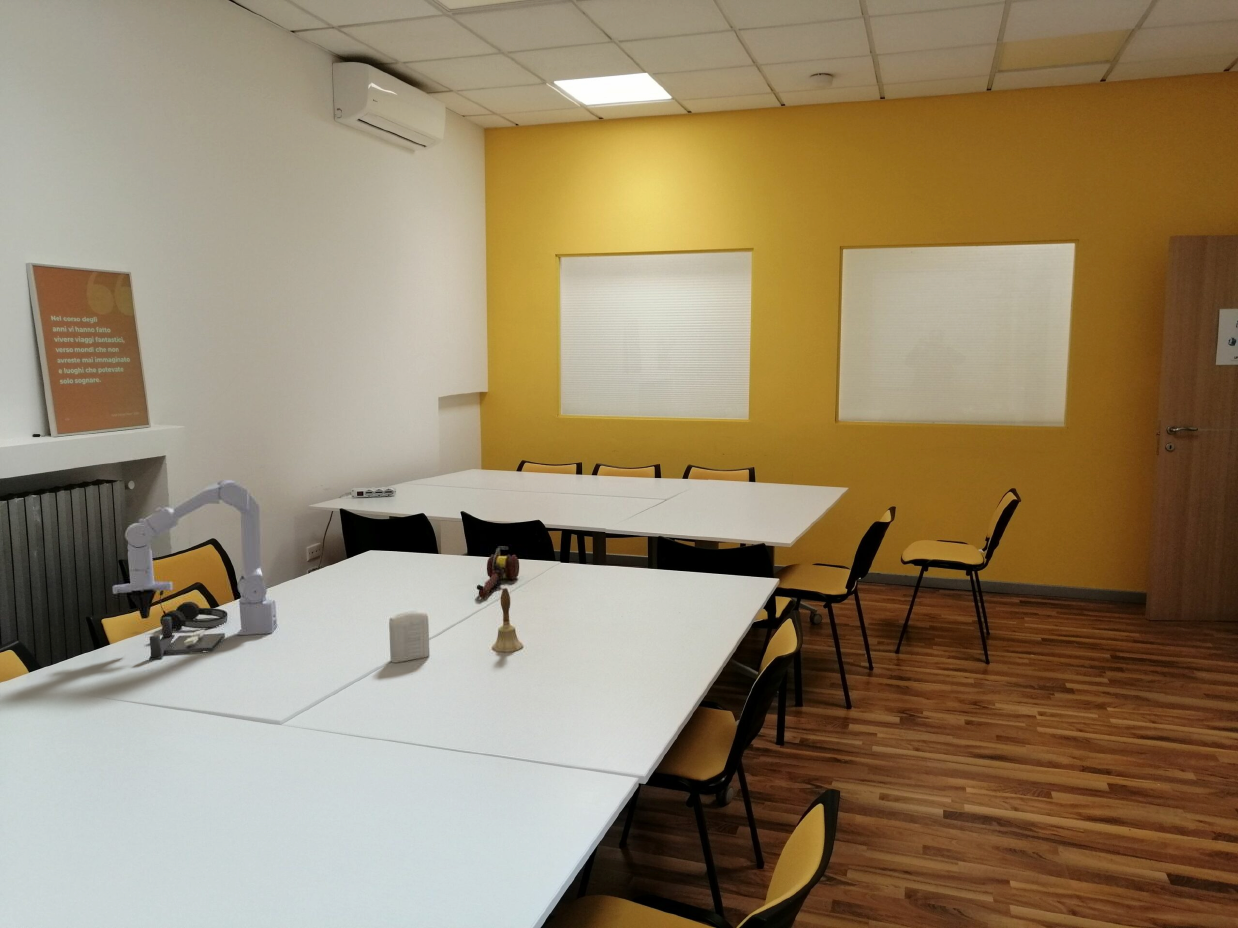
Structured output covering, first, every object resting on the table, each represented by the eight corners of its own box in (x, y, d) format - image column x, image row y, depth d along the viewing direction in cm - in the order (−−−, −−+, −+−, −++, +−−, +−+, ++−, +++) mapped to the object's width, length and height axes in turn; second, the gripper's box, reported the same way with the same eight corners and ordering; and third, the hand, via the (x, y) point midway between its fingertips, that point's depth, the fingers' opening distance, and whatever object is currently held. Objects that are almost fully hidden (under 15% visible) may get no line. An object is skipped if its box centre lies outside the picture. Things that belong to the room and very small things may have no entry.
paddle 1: (198, 639, 250) (197, 635, 250) (194, 643, 247) (193, 639, 246) (189, 641, 250) (188, 638, 250) (185, 645, 246) (184, 642, 246)
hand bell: (485, 649, 243) (483, 590, 241) (503, 640, 251) (501, 583, 249) (511, 654, 239) (509, 594, 238) (529, 644, 247) (527, 586, 245)
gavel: (498, 608, 293) (467, 607, 294) (522, 573, 326) (494, 573, 328) (496, 577, 291) (465, 577, 292) (520, 546, 324) (493, 545, 326)
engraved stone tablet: (426, 652, 242) (424, 606, 241) (432, 656, 238) (430, 610, 237) (388, 660, 236) (385, 613, 235) (393, 664, 233) (391, 617, 231)
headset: (169, 585, 278) (235, 591, 278) (168, 616, 279) (234, 622, 279) (146, 597, 265) (216, 603, 265) (145, 629, 266) (215, 635, 266)
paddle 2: (204, 632, 256) (203, 629, 256) (200, 636, 252) (199, 633, 252) (195, 635, 256) (194, 631, 256) (191, 639, 252) (190, 635, 252)
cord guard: (174, 636, 260) (172, 616, 260) (161, 659, 241) (159, 637, 240) (162, 637, 260) (161, 617, 259) (149, 661, 240) (147, 638, 239)
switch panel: (224, 637, 259) (224, 632, 258) (211, 651, 246) (211, 647, 246) (179, 639, 257) (179, 635, 257) (164, 654, 244) (163, 650, 244)
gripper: (106, 573, 242) (110, 623, 244) (164, 570, 244) (169, 619, 246) (116, 567, 249) (121, 616, 250) (173, 564, 251) (177, 612, 253)
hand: (145, 617), depth 249 cm, fingers closed
